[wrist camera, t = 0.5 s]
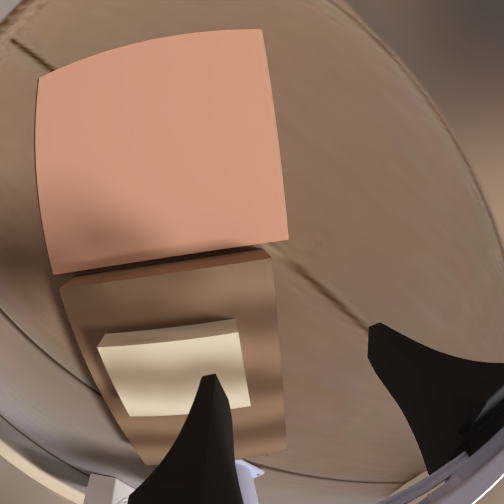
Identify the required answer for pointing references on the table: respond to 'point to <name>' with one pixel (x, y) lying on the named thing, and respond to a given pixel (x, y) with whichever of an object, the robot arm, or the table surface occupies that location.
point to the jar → (106, 490)
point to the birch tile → (174, 366)
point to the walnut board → (182, 314)
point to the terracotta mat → (159, 151)
